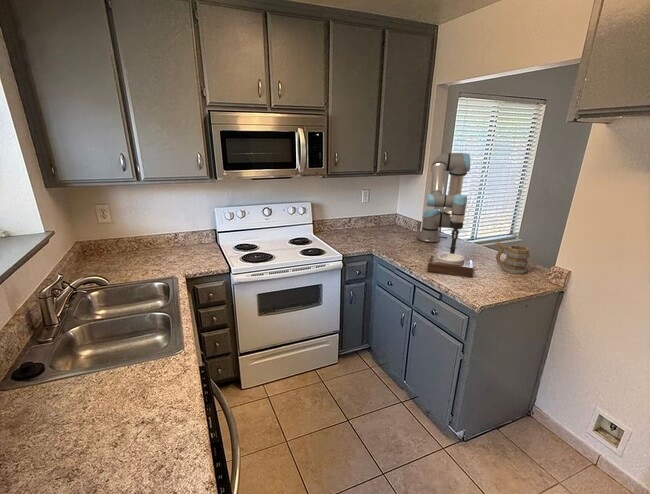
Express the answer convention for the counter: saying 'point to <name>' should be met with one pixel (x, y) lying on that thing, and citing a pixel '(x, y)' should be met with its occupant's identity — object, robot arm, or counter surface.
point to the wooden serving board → (450, 268)
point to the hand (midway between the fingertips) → (451, 258)
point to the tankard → (513, 258)
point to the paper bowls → (451, 259)
